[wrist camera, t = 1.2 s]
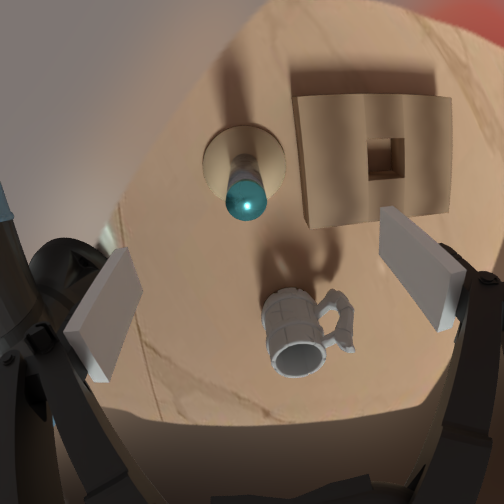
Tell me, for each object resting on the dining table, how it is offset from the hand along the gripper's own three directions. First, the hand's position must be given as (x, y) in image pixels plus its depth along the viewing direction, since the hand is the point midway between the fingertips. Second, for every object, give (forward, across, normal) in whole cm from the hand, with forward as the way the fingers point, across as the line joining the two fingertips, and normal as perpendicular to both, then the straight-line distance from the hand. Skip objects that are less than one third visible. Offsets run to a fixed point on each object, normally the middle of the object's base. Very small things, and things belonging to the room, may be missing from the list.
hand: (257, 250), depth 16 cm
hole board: (+20, +15, 0) cm, 25 cm away
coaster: (+20, 0, 0) cm, 20 cm away
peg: (+20, 0, 0) cm, 20 cm away
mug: (+21, +5, -19) cm, 29 cm away
